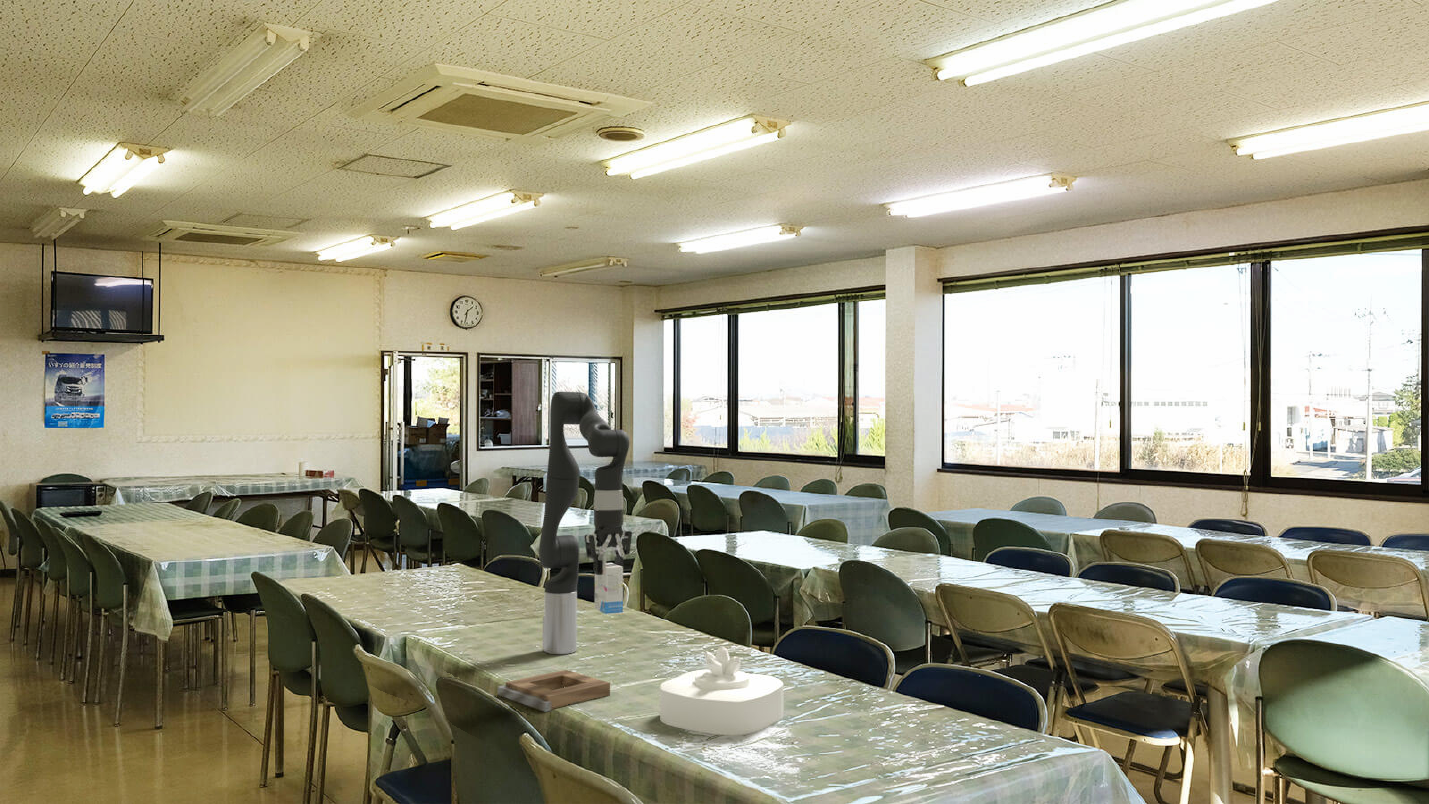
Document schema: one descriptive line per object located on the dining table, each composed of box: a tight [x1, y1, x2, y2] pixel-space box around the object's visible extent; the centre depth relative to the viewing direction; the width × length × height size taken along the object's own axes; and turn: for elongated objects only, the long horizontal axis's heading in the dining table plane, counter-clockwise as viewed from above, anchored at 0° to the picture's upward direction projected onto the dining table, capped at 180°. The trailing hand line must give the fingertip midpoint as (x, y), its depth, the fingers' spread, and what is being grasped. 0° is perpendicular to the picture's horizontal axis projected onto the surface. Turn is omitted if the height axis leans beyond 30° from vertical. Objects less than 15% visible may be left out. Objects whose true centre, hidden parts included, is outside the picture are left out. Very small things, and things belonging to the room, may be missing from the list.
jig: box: [497, 669, 611, 713], centre depth 253 cm, size 20×20×3 cm
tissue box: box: [659, 645, 784, 736], centre depth 236 cm, size 25×25×16 cm
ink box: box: [594, 554, 624, 615], centre depth 267 cm, size 8×5×15 cm, turn 27°
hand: (608, 573), depth 267 cm, fingers closed on ink box, 6 cm apart
